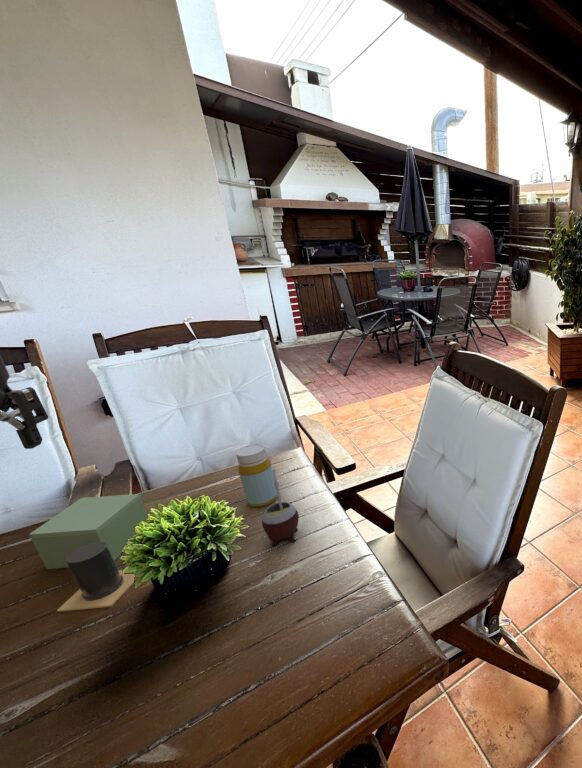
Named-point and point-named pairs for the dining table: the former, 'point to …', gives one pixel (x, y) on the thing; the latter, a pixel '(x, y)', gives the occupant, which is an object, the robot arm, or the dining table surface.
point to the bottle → (256, 475)
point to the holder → (94, 570)
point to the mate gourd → (280, 519)
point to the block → (89, 527)
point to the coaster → (80, 604)
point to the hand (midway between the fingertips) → (5, 447)
